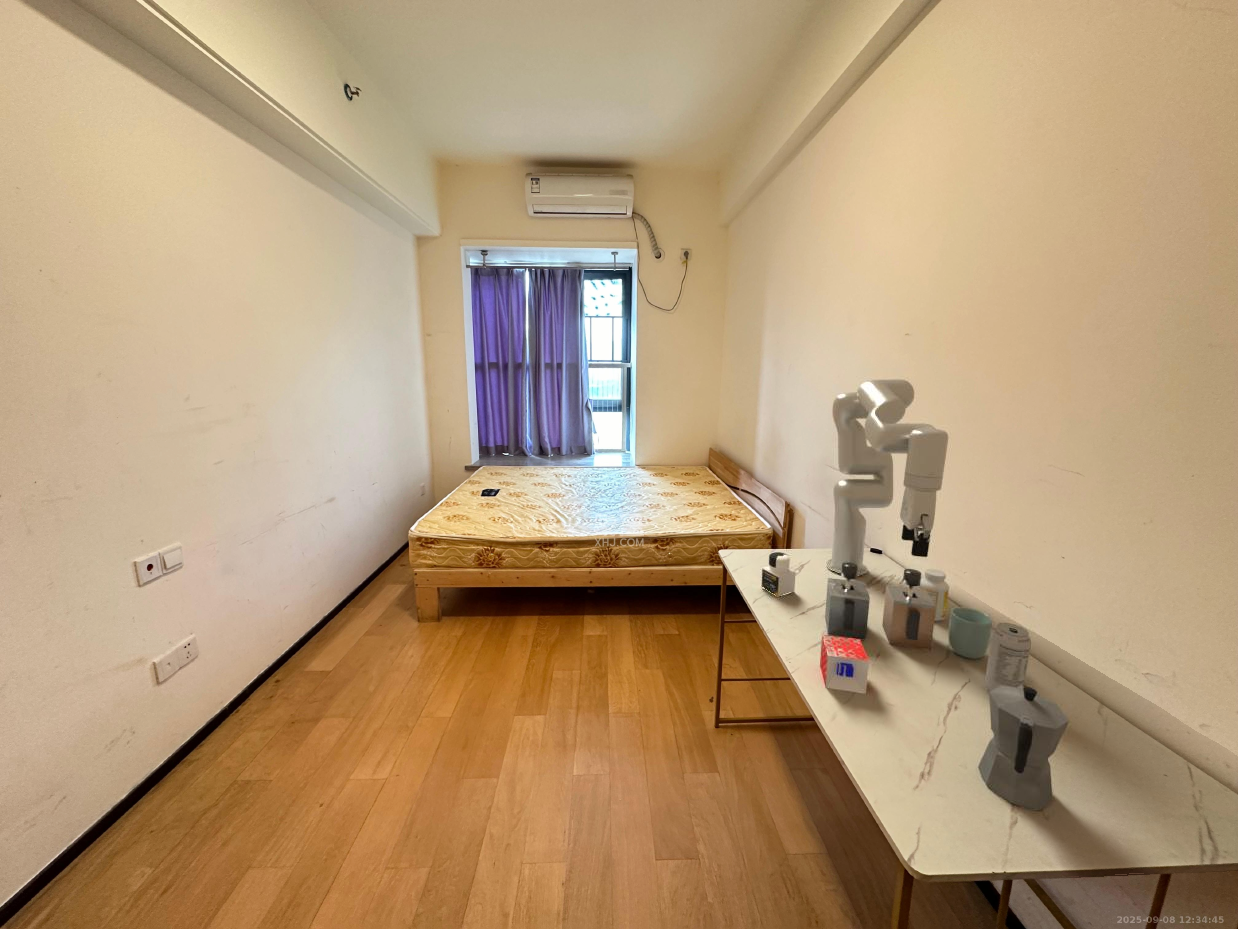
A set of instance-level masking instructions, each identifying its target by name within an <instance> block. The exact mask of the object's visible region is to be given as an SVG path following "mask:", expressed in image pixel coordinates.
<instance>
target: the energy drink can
mask: <svg viewBox="0 0 1238 929" xmlns="http://www.w3.org/2000/svg"><path fill="white" fill-rule="evenodd" d="M1029 634H1030V633H1029V631H1028V630H1027V629H1025V627H1022V626H1020V625H1017V624H1015V623H1010V622H1009V623H1008V622H999V623H998V624H997V625H996V627H995V628H994V629H992V632H991V638H990V644H989V646H990V647H989V651H988V652H989V653H988V660H987V665H986V673H985V677H984V686H985V688H986V691H987V692H988V693H989V692H990V691H992V690H994V689H996V688H998V687H999V686H1001V685H1003V686H1009V687H1014V688H1017V687H1018V686H1020V685H1025V681H1026V677H1027V670H1028V665H1029V658H1030V652H1031V648H1032V640H1031V638H1030V636H1029Z"/></svg>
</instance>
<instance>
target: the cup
mask: <svg viewBox="0 0 1238 929" xmlns="http://www.w3.org/2000/svg"><path fill="white" fill-rule="evenodd" d="M949 614H950V615H949V620H948V632H947V633H948V634H947V636H948V637H947V638H948V644H949V647H950V648H951V649H952V650H953V651H954V652H955V653H956V654H958V655H959V656H961V657H964V658H967V659H980V658H982V657H984V656H985V654H987V651H988V649H989V648H990V647H989V646H990V644H991V639H992V632H993V624H994V621H993V619H992V617H990V615H989V614H987V613H985V612H983V611H981V610H978V609H975V608H971V607H964V606H960V607H959V606H957V607H953V608H951V610H950V613H949Z"/></svg>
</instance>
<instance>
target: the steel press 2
mask: <svg viewBox="0 0 1238 929" xmlns="http://www.w3.org/2000/svg"><path fill="white" fill-rule="evenodd" d="M908 588H909V586H898V585H891V584H889V585H888V584H886V585H885V597H884V606H883V614H882V623H881V624H882V625H881V626H882V629H883V631H884V634H885V636H886V639H887V641H888V644H889V645H892V646H893V645H894V646H898V647H905V648H911V649H919V650H923V651H924V650H925V651H931V650H932V644H933V643H932V642H933V635H934V626H935V621H934V620H935V612H936V605H935V603H934V602H933V600H932V599H931V597H930V596H929V594H928V592H927V591H926V589H919V587H918V588H916V587H913V595H912V598H911V597H908Z"/></svg>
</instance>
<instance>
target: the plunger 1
mask: <svg viewBox="0 0 1238 929" xmlns="http://www.w3.org/2000/svg"><path fill="white" fill-rule="evenodd" d="M857 568H858V566H857V565H856V564H854V563H850V562H844V563H842V570H841V574H840V575H841V577H842V578H844V579H845V580H846V589H847V590H850V582H851V581H852V580H856V579H857V578H858V576H857Z"/></svg>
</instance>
